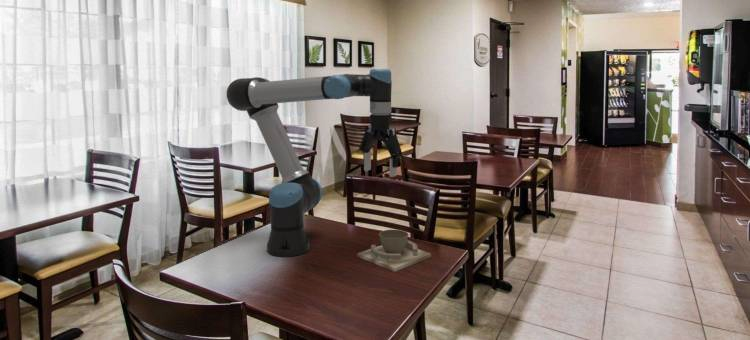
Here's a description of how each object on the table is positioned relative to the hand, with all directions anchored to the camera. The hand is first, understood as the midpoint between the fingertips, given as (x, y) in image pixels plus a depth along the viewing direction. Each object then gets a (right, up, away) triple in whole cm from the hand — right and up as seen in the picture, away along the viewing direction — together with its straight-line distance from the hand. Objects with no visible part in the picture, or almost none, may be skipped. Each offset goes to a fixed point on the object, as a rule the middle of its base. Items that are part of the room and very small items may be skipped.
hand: (379, 173), depth 177 cm
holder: (+5, -29, -6) cm, 30 cm away
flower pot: (+5, -28, -6) cm, 29 cm away
